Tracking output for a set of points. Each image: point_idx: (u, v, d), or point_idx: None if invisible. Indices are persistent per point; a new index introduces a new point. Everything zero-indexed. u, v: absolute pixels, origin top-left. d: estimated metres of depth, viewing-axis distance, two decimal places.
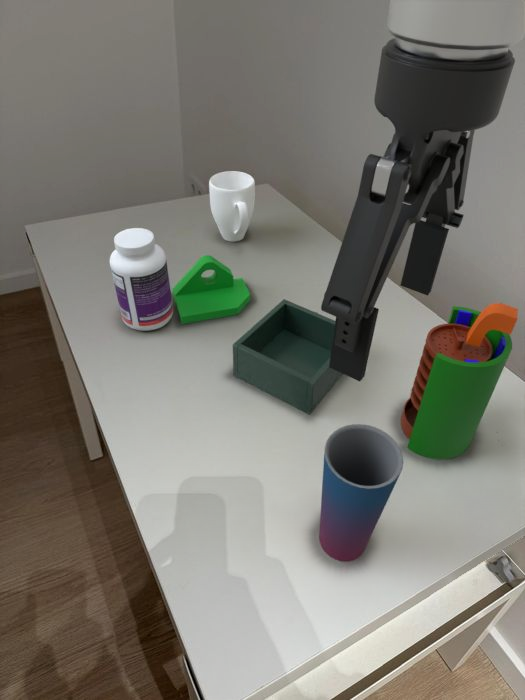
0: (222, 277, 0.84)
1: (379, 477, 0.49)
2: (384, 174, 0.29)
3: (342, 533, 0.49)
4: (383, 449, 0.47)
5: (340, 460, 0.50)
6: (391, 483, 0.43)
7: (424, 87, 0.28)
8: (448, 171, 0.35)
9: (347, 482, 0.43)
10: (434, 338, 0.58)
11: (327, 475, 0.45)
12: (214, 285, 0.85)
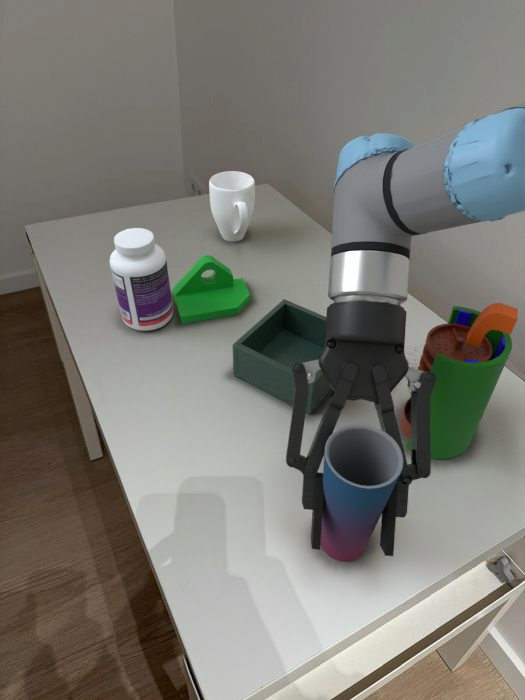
0: (222, 277, 0.84)
1: (379, 477, 0.49)
2: (292, 371, 0.49)
3: (342, 533, 0.49)
4: (383, 449, 0.47)
5: (341, 460, 0.50)
6: (391, 483, 0.43)
7: (326, 317, 0.49)
8: (375, 387, 0.48)
9: (347, 482, 0.43)
10: (434, 338, 0.58)
11: (327, 475, 0.45)
12: (214, 285, 0.85)
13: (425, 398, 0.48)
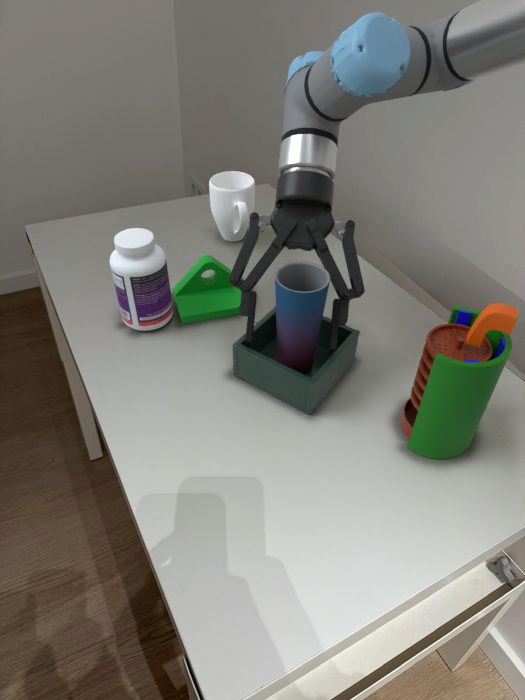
0: (222, 277, 0.84)
1: None
2: None
3: (290, 344, 0.67)
4: (319, 279, 0.66)
5: None
6: (320, 291, 0.61)
7: None
8: (312, 236, 0.66)
9: (289, 289, 0.61)
10: (434, 338, 0.58)
11: (277, 291, 0.63)
12: (214, 285, 0.85)
13: (350, 239, 0.66)
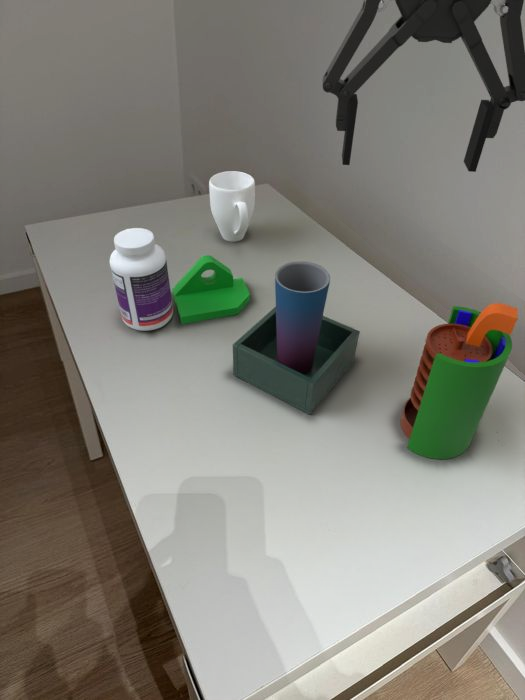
0: (222, 277, 0.84)
1: None
2: None
3: (290, 343, 0.67)
4: (319, 279, 0.66)
5: None
6: (320, 291, 0.61)
7: None
8: (458, 26, 0.47)
9: (289, 289, 0.61)
10: (434, 338, 0.58)
11: (277, 291, 0.63)
12: (214, 285, 0.85)
13: (515, 20, 0.46)
